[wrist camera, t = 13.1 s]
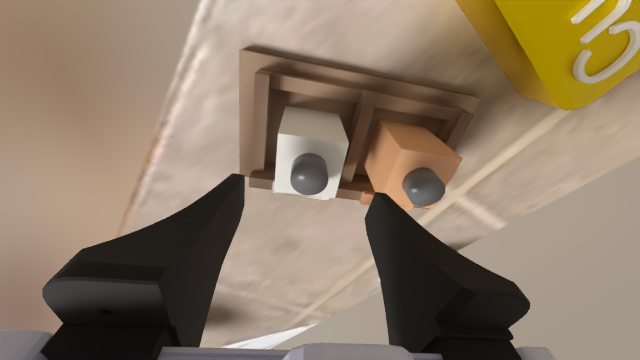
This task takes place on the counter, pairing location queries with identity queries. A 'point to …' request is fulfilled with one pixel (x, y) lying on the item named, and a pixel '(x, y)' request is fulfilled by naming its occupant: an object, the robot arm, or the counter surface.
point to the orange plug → (409, 163)
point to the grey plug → (310, 152)
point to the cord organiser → (344, 99)
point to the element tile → (560, 45)
